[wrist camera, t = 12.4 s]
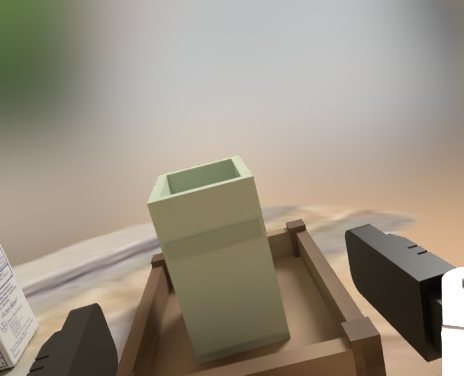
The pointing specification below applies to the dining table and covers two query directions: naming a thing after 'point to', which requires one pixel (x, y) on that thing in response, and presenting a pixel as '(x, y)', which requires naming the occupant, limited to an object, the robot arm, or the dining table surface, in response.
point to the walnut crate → (273, 355)
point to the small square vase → (219, 258)
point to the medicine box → (13, 317)
